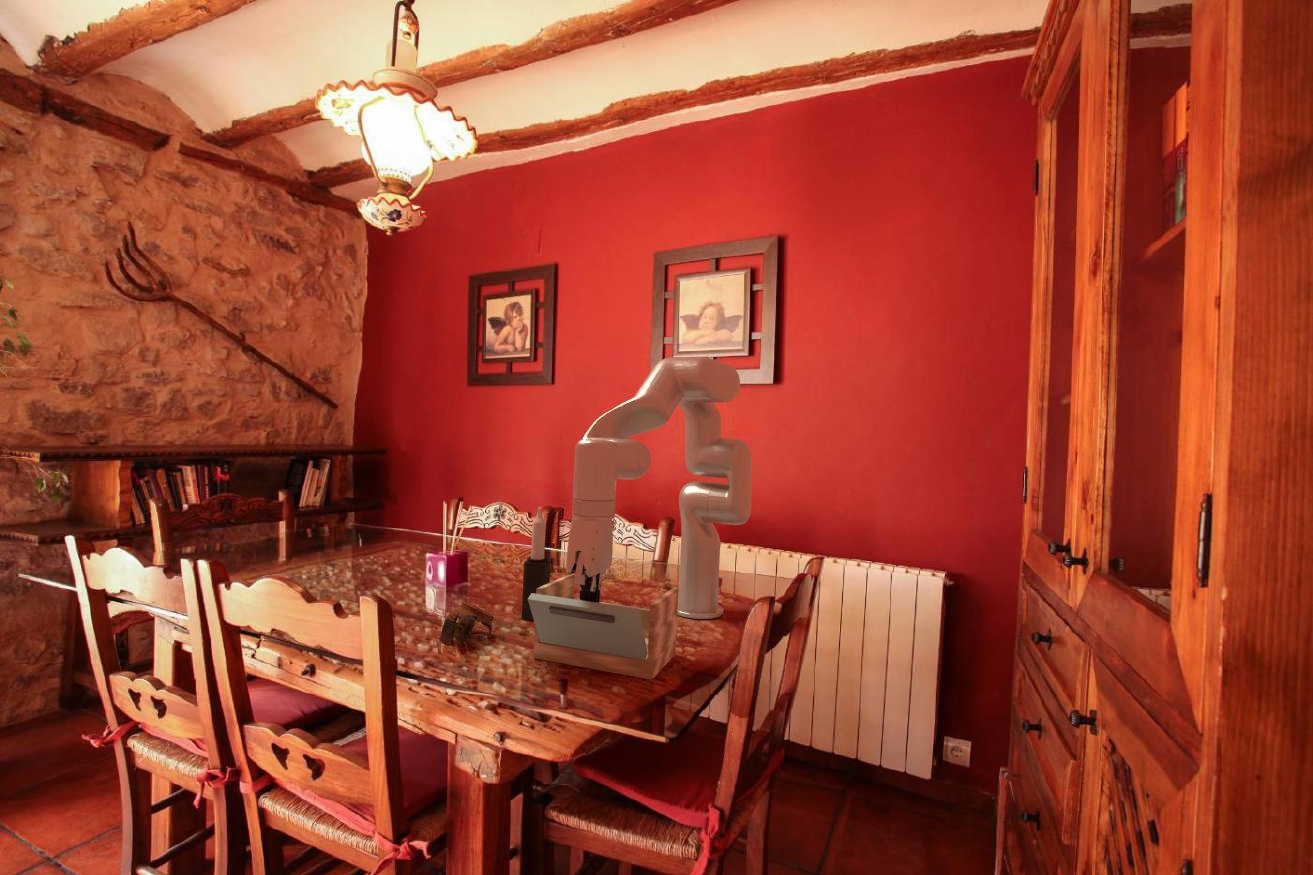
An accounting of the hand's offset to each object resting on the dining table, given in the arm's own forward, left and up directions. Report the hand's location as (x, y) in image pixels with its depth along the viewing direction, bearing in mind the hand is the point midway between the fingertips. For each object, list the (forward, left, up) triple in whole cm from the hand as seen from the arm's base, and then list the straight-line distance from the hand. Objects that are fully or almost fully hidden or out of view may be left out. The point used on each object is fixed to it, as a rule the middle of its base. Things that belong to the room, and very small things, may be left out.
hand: (589, 612), depth 111 cm
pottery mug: (-4, -29, -11) cm, 31 cm away
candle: (-24, -24, -11) cm, 35 cm away
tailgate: (-2, 0, -8) cm, 8 cm away
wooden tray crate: (-9, 0, -11) cm, 14 cm away
